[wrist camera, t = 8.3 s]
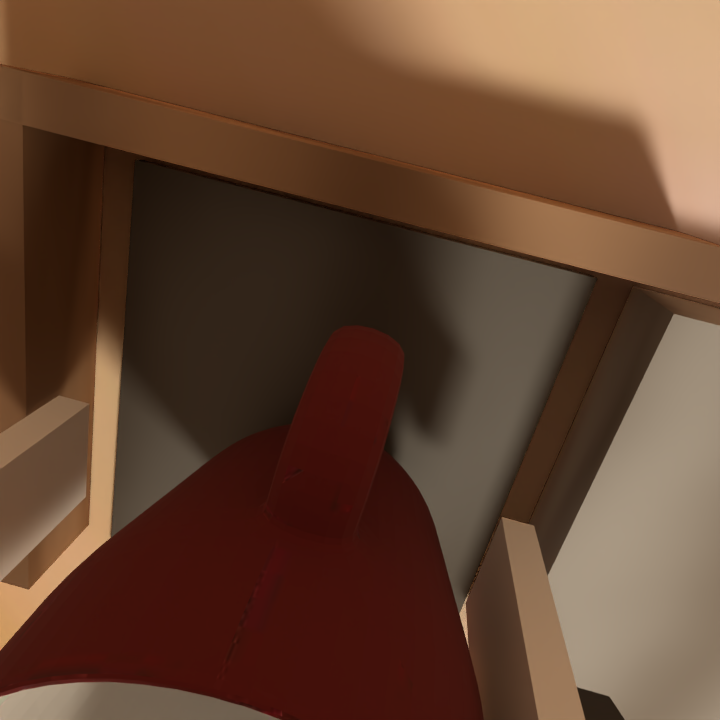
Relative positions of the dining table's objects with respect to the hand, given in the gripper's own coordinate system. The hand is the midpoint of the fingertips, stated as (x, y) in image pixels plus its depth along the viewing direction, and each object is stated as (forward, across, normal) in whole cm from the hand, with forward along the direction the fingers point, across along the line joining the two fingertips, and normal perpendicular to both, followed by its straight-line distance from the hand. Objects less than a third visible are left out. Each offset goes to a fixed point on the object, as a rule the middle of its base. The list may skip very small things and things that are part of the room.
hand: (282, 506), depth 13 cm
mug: (+4, +1, 0) cm, 4 cm away
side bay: (+4, +4, +1) cm, 5 cm away
